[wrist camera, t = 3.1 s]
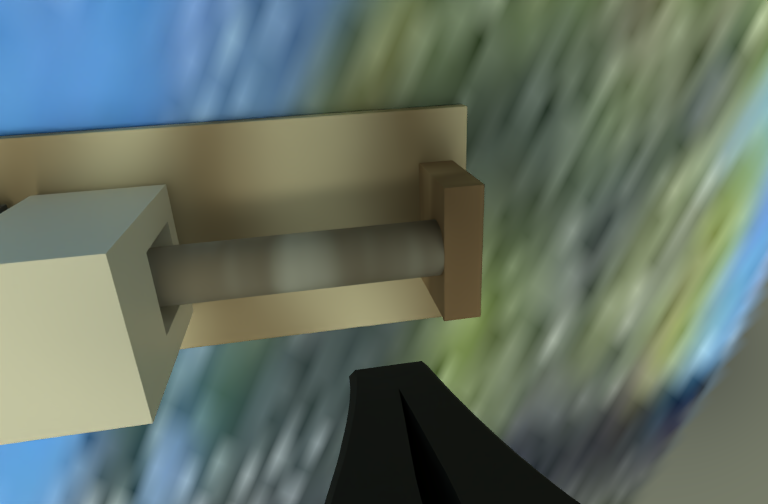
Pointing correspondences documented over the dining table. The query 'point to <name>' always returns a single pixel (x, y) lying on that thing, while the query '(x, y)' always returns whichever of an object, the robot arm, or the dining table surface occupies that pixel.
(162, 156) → the pipe stand
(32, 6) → the dining table surface
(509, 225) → the dining table surface
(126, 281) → the pale sage cube
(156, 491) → the dining table surface
